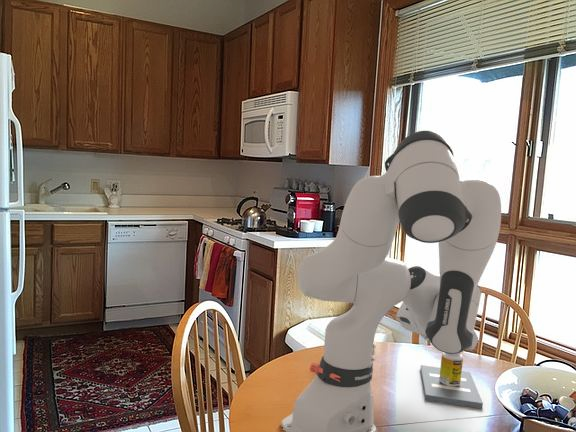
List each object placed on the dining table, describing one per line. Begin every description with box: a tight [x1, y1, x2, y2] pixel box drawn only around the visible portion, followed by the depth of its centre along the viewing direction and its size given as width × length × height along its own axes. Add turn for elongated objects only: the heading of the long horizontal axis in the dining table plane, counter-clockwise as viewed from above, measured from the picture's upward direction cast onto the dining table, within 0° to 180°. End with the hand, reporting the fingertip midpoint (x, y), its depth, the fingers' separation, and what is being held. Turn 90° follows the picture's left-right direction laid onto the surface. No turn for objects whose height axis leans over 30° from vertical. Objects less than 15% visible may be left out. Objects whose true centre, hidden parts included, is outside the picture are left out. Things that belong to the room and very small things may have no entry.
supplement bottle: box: [439, 352, 464, 386], centre depth 133 cm, size 6×6×10 cm
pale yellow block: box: [372, 340, 377, 356], centre depth 152 cm, size 10×9×6 cm
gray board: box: [419, 364, 484, 410], centre depth 134 cm, size 20×14×2 cm
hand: (444, 343), depth 131 cm, fingers open, 8 cm apart
